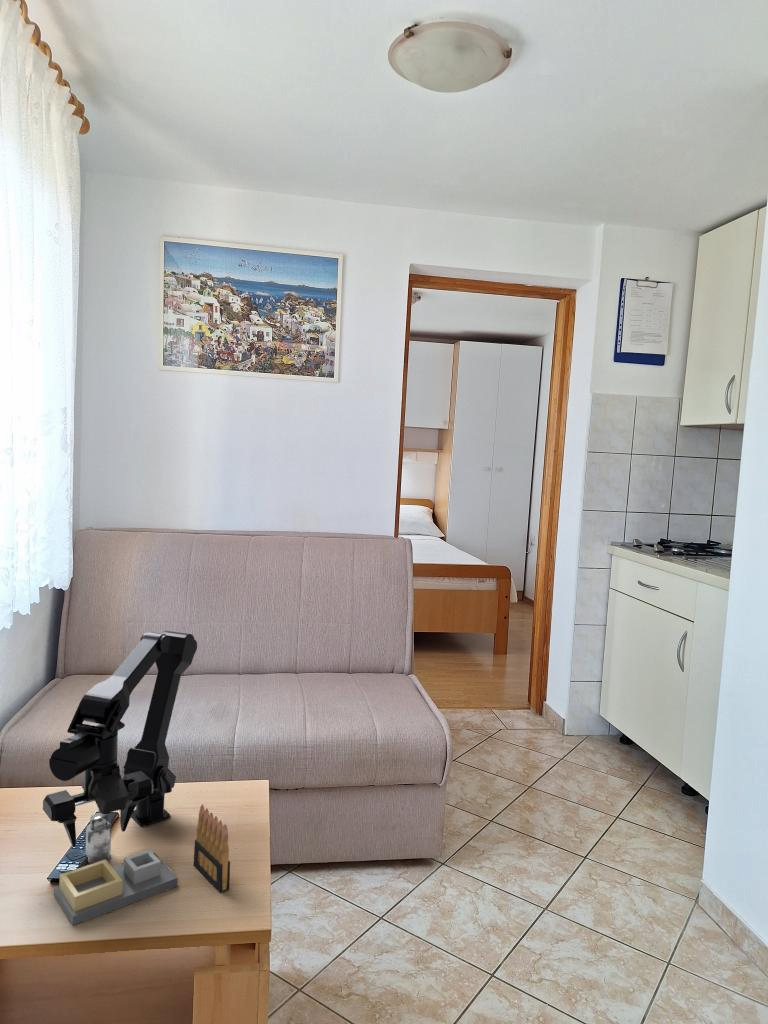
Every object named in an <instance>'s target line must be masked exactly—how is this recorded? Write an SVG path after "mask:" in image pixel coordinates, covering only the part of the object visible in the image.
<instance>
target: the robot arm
mask: <svg viewBox="0 0 768 1024" xmlns="http://www.w3.org/2000/svg"><path fill="white" fill-rule="evenodd" d="M197 649H198V642H197V640H196V639H195V637H194V634H191V633H188V632H187V633H186V632H185V633H184V632H180V631H179V632H177V631H171V630H170V631H169V630H165V631H163V632H162V633H160V632H154V631H148V632H144V633H143V634H142V635H141V637H140V641H139V642H138V644H137V645H136V646H135V648H134V649H133V650H132V651H131V652H130V653H129V655H128V656H127V657H126V658H125V659H124V660H123V661H122V663H121V664H120V665H119V666H118V667H117V669H116V670H115V671H114V672H113V673H112V674H111V675H110V677H109V678H107V679H104V680H102V681H101V682H98V683H96V684H95V685H94V686H92V687H91V688H90V689H89V690H88V691H87V692H86V693H85V694H84V695H83V696H82V697H81V700H80V701H79V704H78V706H77V708H76V710H75V712H74V715H73V717H72V719H71V721H70V724H69V725H68V728H67V731H66V732H67V733H69V734H73V735H72V736H70V737H68V738H65V739H62V740H60V742H59V748H57V749H55V750H54V751H53V752H52V753H51V756H50V758H49V760H48V764H49V769H50V771H51V773H52V775H53V776H54V778H56V779H57V780H60V781H63V782H68V781H70V780H72V779H74V778H75V777H77V776H79V775H80V774H82V773H83V781H82V782H81V788H82V789H83V792H80V793H78V794H73V795H71V794H70V792H68V791H67V789H64V790H60V791H58V792H57V791H56V792H52V793H49V794H47V795H45V797H44V798H43V800H42V811H43V812H44V813H45V815H46V816H47V817H48V818H49V820H50V821H51V822H57V823H59V824H63V827H64V829H65V832H66V834H67V837H68V840H69V842H70V845H71V847H73V848H75V847H76V845H77V844H76V843H77V832H76V821H77V819H78V817H77V816H76V814H75V813H76V807H77V806H81V805H84V804H85V805H86V804H88V803H91V802H92V803H93V802H95V804H96V807H97V809H98V811H99V812H98V813H101V814H107V815H109V814H111V813H113V812H116V811H120V816H119V818H120V821H119V822H120V831H121V832H122V833H123V832H125V831H126V829H127V827H128V825H129V822H130V821H131V818H132V819H133V820H134V821H135V822H136V823H137V824H138V825H139V826H141V827H144V826H147V825H150V824H153V823H157V822H160V821H163V820H166V819H169V818H171V814H170V812H168V811H167V809H165V796H166V795H165V794H169V793H171V792H173V788H175V784H176V781H177V780H176V778H177V776H176V775H175V774H174V773H173V772H172V771H171V770H170V769H169V764H170V755H169V753H168V750H167V749H168V748H167V746H166V740H167V736H168V732H169V728H170V724H171V719H172V714H173V712H174V706H175V702H176V698H177V694H178V689H179V685H180V681H181V676H182V675H183V673H184V672H185V671H186V670H187V669H188V668H189V667H190V666H191V664H192V663H193V660H194V657H195V654H196V652H197ZM154 664H155V665H156V668H157V673H156V679H155V683H154V686H153V691H152V693H151V698H150V702H149V707H148V710H147V715H146V718H145V723H144V727H143V731H142V735H141V739H140V741H139V742H138V743H137V744H136V745H135V746H134V747H130V748H129V749H128V751H127V754H126V760H125V762H124V765H123V767H122V768H123V777H122V776H121V769H120V764H119V763H118V745H119V743H118V742H119V740H118V739H119V737H118V736H119V731H120V730H122V729H124V728H125V727H126V725H125V724H126V723H124V722H122V721H121V720H122V719H123V717H124V715H125V714H126V711H127V710H128V708H129V707H130V701H131V700H130V699H131V698H130V697H131V695H132V693H133V691H134V689H135V688H136V687H138V685H139V683H140V682H141V681H142V680H143V678H144V677H145V676H146V674H147V673H148V672H149V670H150V669H151V668H152V667H153V666H154ZM84 722H87V723H88V722H89V723H93V724H97V725H91V724H87V723H84Z"/></svg>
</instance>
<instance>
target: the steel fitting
mask: <svg viewBox="0 0 768 1024" xmlns="http://www.w3.org/2000/svg"><path fill="white" fill-rule="evenodd" d="M108 816H109V814H101V813H100V812H98V813H93V814H92V815H91V816H90V822H89V823H90V824H88V825H87V826H86V828H85V854H86V855H87V857H88V862H89V863H88V865H90V864H93V863H96V862H99V861H102V860H105V859H106V860H107V861H109V859H110V858H111V851H112V849H111V847H112V846H111V845H112V823H111V822H109V821H108Z"/></svg>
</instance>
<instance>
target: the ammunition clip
mask: <svg viewBox="0 0 768 1024" xmlns="http://www.w3.org/2000/svg"><path fill="white" fill-rule="evenodd" d="M229 847H230V846H229V831H228V826H227V824H226V823H224V825H223V821H222V819H218V817H217V815H215V816H214V813H213V812H212V811H211V812H209V808H205V805H204V804H201V806H200V808H199V812H198V820H197V826H196V839H194V847H193V849H194V850H193V851H194V852H193V864H192V865H193V867H194V868H195V869H196V870H197V871H198V873H200V874H201V875H202V876H203V877H204V878H205V879H206V881H208V883H210V885H211V886H213V888H214V889H215V890H216V891H217V892H218V893H219V894H221V893H224V892H225V891H228V890H230V883H231V882H230V880H231V879H230V877H231V873H230V872H231V861H230V860H229V857H230V856H229V855H230V854H229V853H230V849H229Z"/></svg>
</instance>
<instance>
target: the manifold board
mask: <svg viewBox="0 0 768 1024" xmlns="http://www.w3.org/2000/svg"><path fill="white" fill-rule="evenodd" d="M178 879H179V878H178V877H177V875H175V873H174V872H173V870H171V869H170V868H169V867H168V866H167V864H166V863H165V862H164V861H163V860H162V859H161V857H159V856H158V855H157V854H156V853H155V852H153V851H152V850H151V849H147V850H145V851H141V852H138V853H136V854H133V855H129V856H126V857H123V862H122V863H120V864H116V865H113V866H111V864H110V863H109V861H108V860H106V859H105V860H102V861H99V862H96V863H93V864H87V865H84V866H82V867H79V868H76V869H73V870H69V871H66V872H64V873H60V874H59V883H58V885H55V886H53V897H54V898H55V900H56V902H57V903H58V904H59V906H60V908H61V910H62V911H63V913H64V915H65V916H66V917H67V919H68V921H69V922H70V924H71V925H72V926H75V925H77V924H81V923H82V922H83V923H84V922H86V921H89V920H91V919H93V918H96V917H99V916H102V915H104V914H106V913H109V912H112V911H115V910H118V909H121V908H123V907H126V906H128V905H130V904H133V903H136V902H138V901H141V900H143V899H147V898H150V897H152V896H154V895H156V894H159V893H162V892H164V891H168V890H170V889H173V888H176V887H178V883H179V881H178Z"/></svg>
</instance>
